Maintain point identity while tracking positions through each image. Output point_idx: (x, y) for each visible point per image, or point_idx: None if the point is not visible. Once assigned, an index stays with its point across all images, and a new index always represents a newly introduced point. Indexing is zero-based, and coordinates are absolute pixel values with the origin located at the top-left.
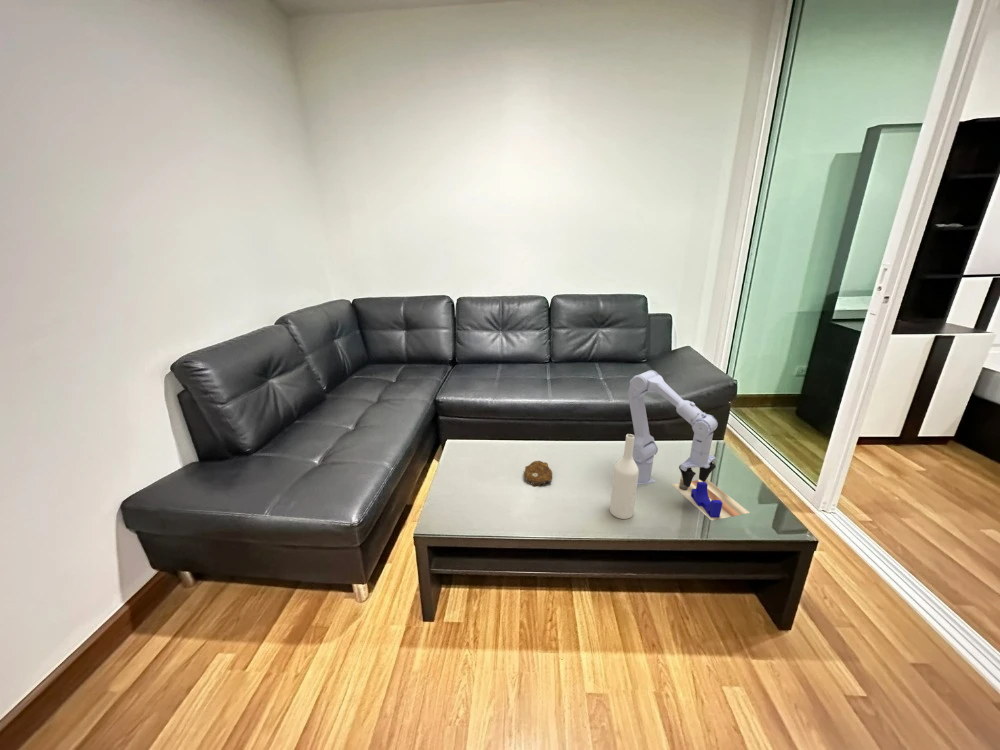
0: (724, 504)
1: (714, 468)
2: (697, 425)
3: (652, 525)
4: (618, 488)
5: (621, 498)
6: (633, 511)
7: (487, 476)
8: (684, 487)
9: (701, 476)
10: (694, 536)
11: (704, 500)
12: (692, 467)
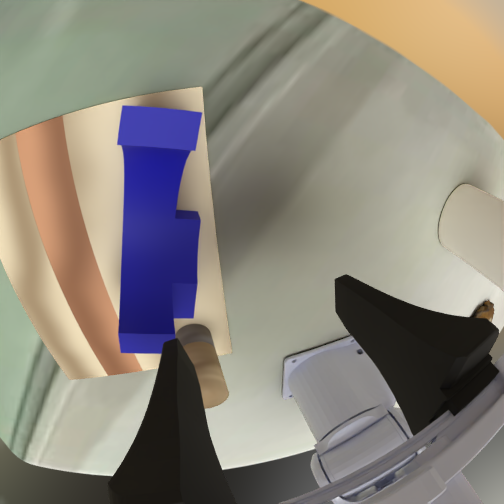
0: (47, 218)
1: (115, 474)
2: None
3: (436, 136)
4: None
5: None
6: (460, 200)
7: (499, 314)
8: (202, 335)
9: (194, 384)
10: (350, 28)
11: (157, 234)
12: (494, 405)
